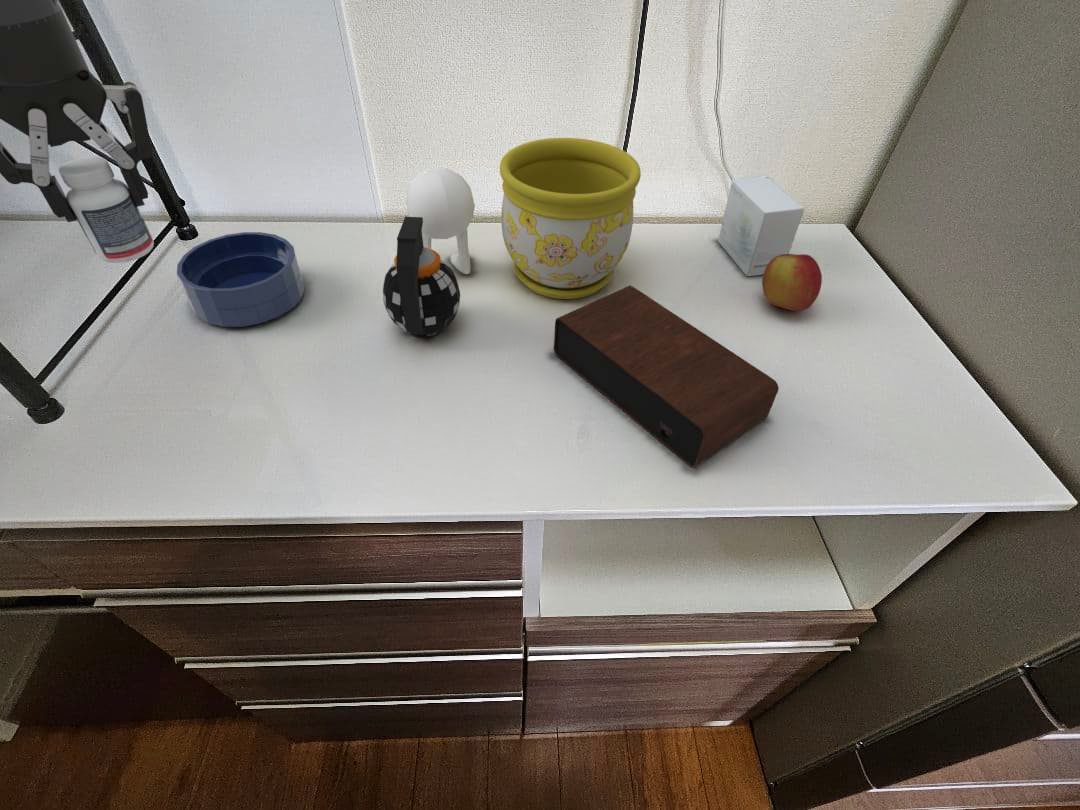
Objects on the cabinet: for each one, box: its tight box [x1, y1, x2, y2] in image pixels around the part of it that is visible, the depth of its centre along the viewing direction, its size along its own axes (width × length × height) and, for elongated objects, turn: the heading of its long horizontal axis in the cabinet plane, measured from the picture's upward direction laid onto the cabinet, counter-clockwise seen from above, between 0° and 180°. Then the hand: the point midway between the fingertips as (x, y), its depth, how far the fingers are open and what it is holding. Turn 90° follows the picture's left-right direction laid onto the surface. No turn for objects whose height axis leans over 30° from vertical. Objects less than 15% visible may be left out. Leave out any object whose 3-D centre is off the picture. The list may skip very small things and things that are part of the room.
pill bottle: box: [58, 156, 155, 264], centre depth 60 cm, size 5×5×9 cm
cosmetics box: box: [717, 174, 805, 277], centre depth 92 cm, size 10×6×10 cm, turn 13°
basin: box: [176, 231, 305, 328], centre depth 83 cm, size 14×14×6 cm
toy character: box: [405, 167, 476, 275], centre depth 86 cm, size 9×9×15 cm
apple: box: [761, 253, 823, 313], centre depth 84 cm, size 8×8×8 cm
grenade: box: [382, 216, 461, 339], centre depth 75 cm, size 11×10×15 cm
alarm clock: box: [553, 285, 780, 468], centre depth 72 cm, size 24×12×6 cm, turn 38°
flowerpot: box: [499, 137, 642, 300], centre depth 85 cm, size 18×18×16 cm
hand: (105, 209), depth 60 cm, fingers closed on pill bottle, 5 cm apart
